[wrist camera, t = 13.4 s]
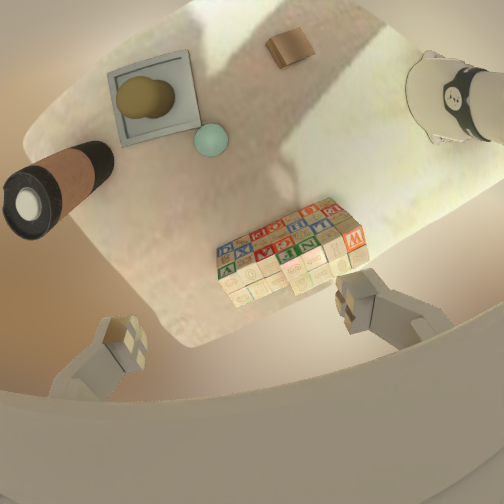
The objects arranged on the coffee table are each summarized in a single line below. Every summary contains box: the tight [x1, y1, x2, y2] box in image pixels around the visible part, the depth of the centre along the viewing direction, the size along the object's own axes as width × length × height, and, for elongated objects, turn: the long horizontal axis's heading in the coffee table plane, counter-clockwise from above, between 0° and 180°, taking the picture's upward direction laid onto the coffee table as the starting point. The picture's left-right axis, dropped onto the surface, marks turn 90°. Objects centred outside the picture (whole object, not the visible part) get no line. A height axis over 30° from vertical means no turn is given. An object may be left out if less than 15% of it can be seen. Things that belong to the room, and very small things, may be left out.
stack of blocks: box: [217, 198, 370, 307], centre depth 43 cm, size 21×6×12 cm, turn 114°
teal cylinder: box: [194, 123, 228, 157], centre depth 37 cm, size 4×4×5 cm
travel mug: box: [2, 141, 114, 240], centre depth 29 cm, size 8×8×20 cm
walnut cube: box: [266, 27, 315, 68], centre depth 31 cm, size 4×4×4 cm
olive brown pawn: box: [116, 76, 175, 119], centre depth 29 cm, size 6×6×11 cm
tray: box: [107, 49, 202, 147], centre depth 34 cm, size 12×12×2 cm
